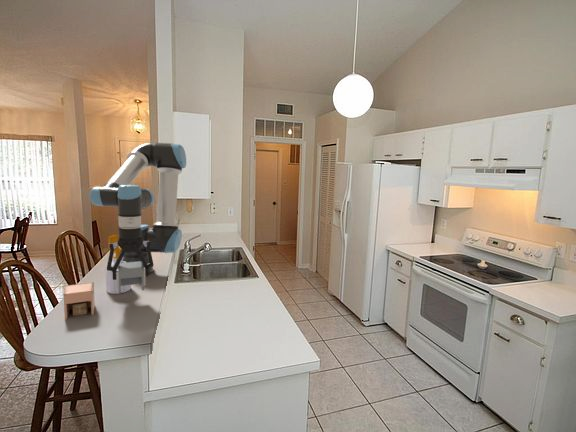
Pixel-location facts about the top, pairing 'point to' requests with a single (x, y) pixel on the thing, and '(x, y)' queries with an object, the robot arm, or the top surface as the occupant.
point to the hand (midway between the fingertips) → (131, 285)
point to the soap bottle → (109, 274)
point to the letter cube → (80, 308)
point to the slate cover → (131, 274)
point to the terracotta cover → (78, 296)
